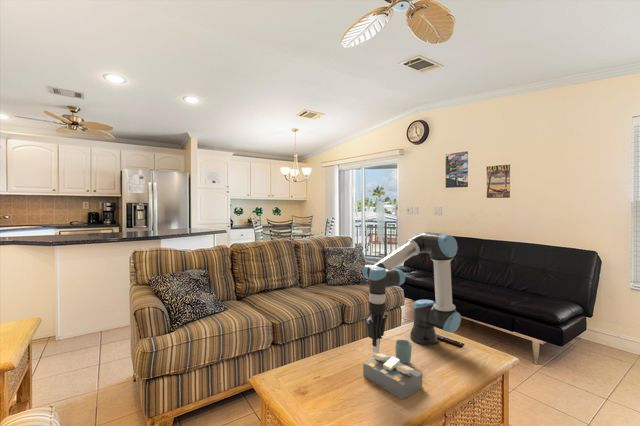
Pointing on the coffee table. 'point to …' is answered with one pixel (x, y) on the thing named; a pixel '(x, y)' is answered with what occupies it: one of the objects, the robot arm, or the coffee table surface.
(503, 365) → the coffee table surface
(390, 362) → the rocker
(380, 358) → the rocker
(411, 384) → the console
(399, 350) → the cup
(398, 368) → the block
